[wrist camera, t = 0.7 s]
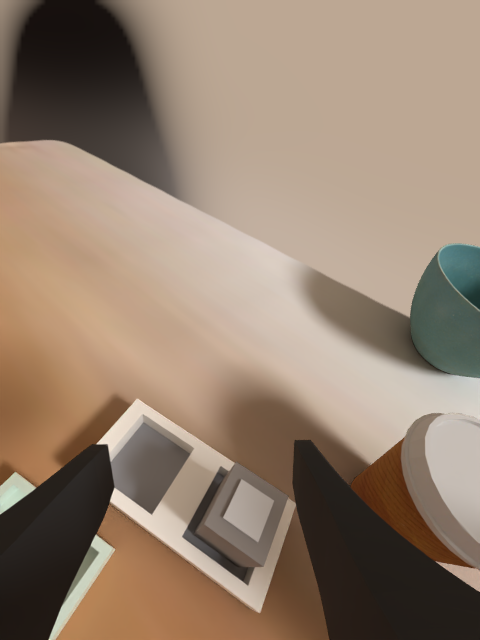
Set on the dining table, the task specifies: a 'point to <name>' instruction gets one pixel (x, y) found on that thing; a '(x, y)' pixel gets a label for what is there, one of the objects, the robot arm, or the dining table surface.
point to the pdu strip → (180, 496)
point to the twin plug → (242, 518)
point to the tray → (90, 567)
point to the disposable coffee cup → (431, 487)
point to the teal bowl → (449, 311)
